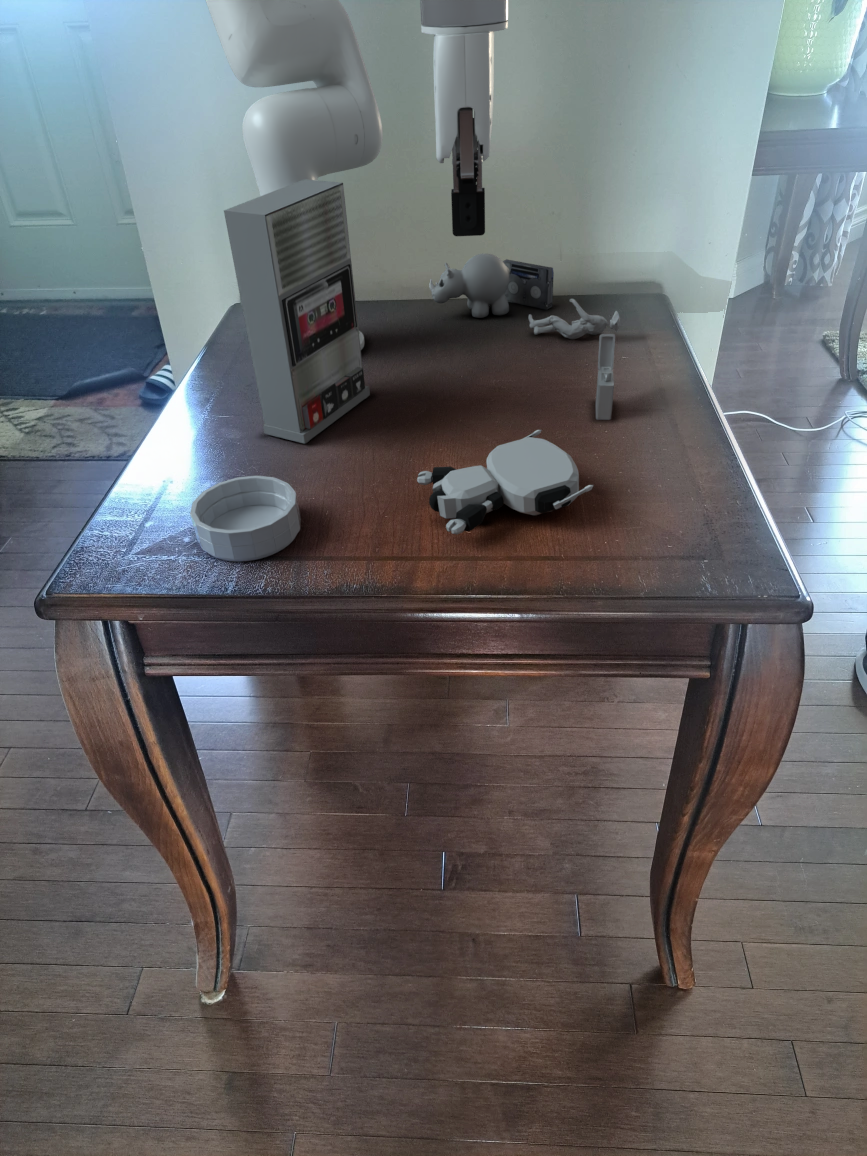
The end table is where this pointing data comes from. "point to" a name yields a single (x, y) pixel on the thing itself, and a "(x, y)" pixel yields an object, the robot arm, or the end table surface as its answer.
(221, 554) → the grey shallow bowl
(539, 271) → the mini dv tape
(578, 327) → the soldier figure
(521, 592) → the end table surface
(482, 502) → the robot toy
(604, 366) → the lighter
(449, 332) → the end table surface
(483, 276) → the chubby cartoon animal
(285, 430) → the cassette tape recorder
